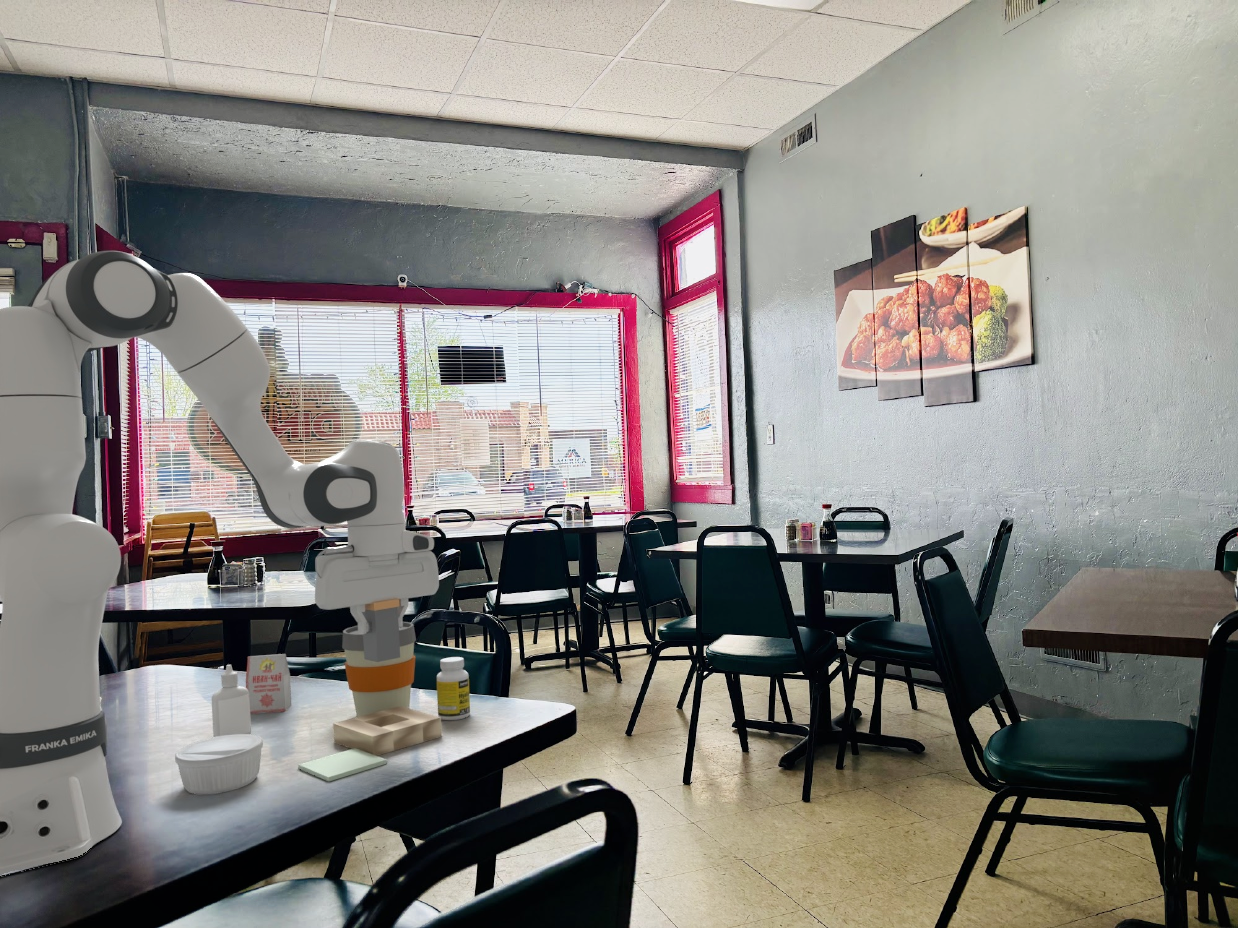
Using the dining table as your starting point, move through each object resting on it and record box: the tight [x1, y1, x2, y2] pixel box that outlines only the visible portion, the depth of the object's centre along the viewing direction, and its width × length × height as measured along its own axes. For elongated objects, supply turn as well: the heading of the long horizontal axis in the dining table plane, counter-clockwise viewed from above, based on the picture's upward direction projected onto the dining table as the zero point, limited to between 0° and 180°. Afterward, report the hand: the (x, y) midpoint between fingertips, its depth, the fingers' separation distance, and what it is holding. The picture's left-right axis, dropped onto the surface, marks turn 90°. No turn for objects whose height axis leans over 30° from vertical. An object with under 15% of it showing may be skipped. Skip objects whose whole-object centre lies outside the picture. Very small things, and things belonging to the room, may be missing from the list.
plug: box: [362, 599, 400, 662], centre depth 141 cm, size 4×4×9 cm
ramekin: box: [174, 734, 264, 795], centre depth 125 cm, size 11×11×5 cm
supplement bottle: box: [436, 656, 471, 721], centre depth 152 cm, size 5×5×10 cm
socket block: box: [332, 706, 443, 757], centre depth 141 cm, size 12×12×3 cm
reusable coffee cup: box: [341, 621, 417, 717], centre depth 157 cm, size 13×13×15 cm
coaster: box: [297, 748, 388, 782], centre depth 129 cm, size 9×9×1 cm
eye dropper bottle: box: [211, 664, 252, 737], centre depth 147 cm, size 4×6×12 cm
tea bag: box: [245, 653, 293, 715], centre depth 164 cm, size 4×7×10 cm, turn 93°
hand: (380, 630), depth 141 cm, fingers closed on plug, 4 cm apart
